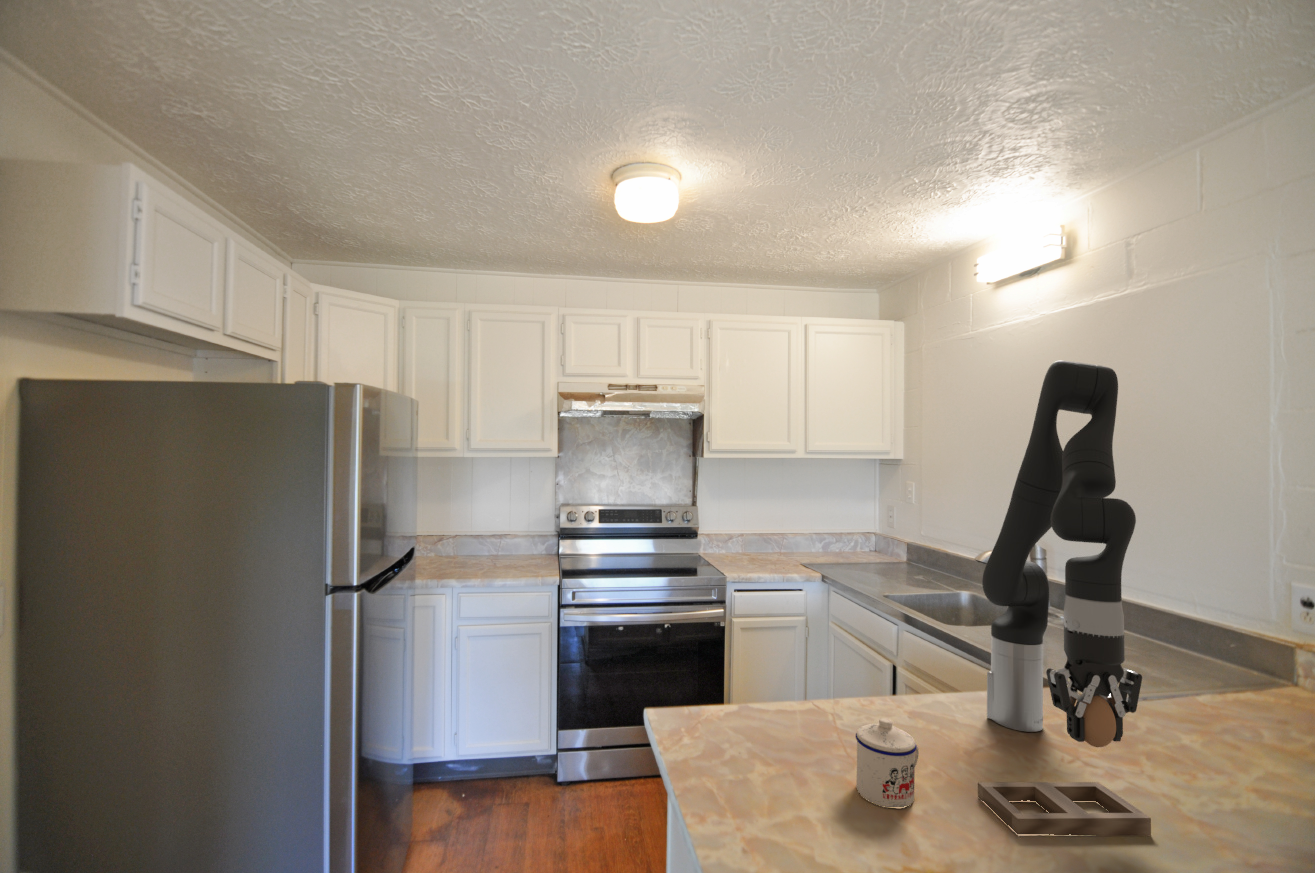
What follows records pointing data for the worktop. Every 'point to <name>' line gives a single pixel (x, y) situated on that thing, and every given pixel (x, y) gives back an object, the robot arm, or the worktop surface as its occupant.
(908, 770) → the teacup with lid
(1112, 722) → the egg
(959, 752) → the worktop surface
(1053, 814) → the egg rail
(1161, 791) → the worktop surface
